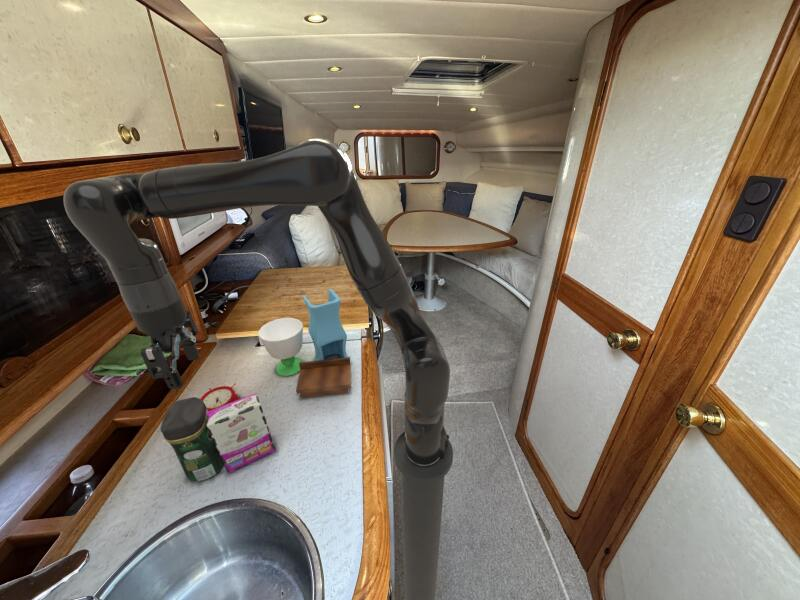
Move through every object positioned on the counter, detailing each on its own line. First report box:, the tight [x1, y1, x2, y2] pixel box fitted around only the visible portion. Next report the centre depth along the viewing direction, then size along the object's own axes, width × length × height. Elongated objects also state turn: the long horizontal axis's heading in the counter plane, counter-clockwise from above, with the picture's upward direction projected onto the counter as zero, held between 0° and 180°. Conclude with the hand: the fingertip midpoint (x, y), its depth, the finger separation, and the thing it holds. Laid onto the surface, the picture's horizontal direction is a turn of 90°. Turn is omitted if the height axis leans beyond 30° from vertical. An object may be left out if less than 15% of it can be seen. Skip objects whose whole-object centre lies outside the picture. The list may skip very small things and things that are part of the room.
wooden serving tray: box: [295, 356, 352, 399], centre depth 98 cm, size 16×10×6 cm, turn 98°
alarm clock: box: [200, 382, 241, 411], centre depth 90 cm, size 10×6×15 cm
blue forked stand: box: [301, 288, 348, 361], centre depth 104 cm, size 10×10×25 cm
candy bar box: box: [206, 392, 277, 474], centre depth 74 cm, size 11×5×16 cm, turn 122°
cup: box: [258, 317, 304, 377], centre depth 104 cm, size 14×14×16 cm
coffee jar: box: [160, 396, 224, 483], centre depth 72 cm, size 10×8×19 cm
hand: (186, 372), depth 62 cm, fingers open, 8 cm apart
